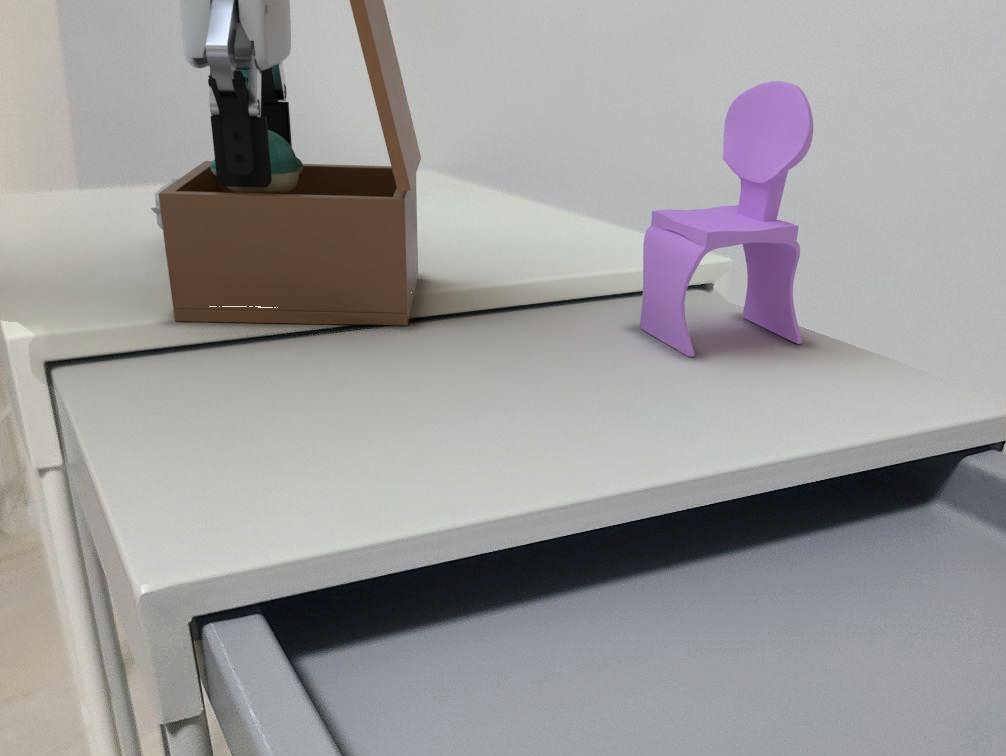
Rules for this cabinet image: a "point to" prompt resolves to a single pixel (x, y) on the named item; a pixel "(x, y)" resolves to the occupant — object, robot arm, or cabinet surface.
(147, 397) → the cabinet surface
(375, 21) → the lid
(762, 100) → the toy chair
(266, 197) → the brown open rectangular box
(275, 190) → the whale figurine
